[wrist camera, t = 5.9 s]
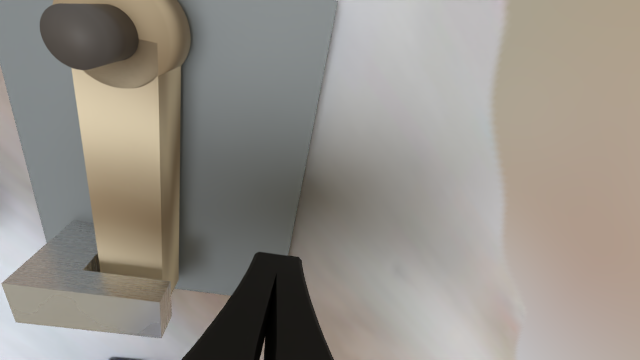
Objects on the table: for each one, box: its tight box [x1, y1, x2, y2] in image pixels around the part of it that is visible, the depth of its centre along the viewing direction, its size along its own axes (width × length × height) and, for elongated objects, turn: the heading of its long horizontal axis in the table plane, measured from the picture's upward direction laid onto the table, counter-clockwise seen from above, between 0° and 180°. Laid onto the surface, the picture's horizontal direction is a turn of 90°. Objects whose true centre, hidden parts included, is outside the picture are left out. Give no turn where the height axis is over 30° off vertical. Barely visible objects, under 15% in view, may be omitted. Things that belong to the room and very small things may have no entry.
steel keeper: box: [1, 220, 172, 338], centre depth 13 cm, size 2×5×4 cm, turn 78°
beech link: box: [40, 0, 191, 294], centre depth 11 cm, size 12×3×3 cm, turn 168°
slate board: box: [0, 0, 338, 296], centre depth 13 cm, size 14×11×1 cm
